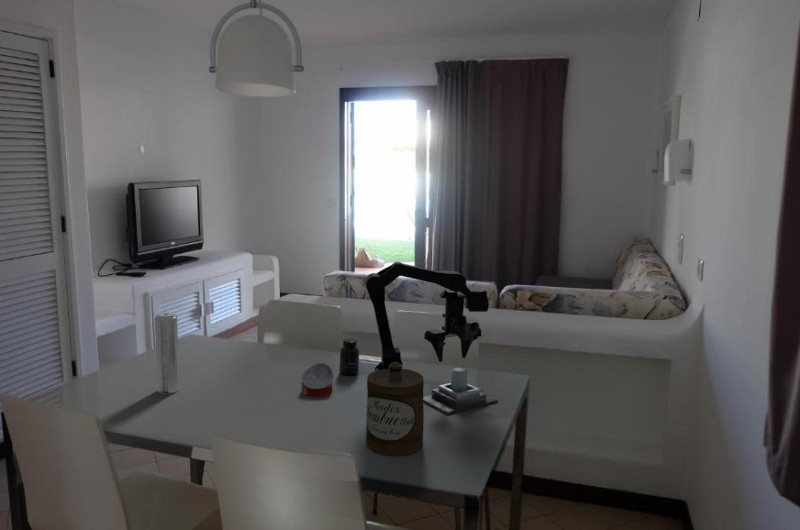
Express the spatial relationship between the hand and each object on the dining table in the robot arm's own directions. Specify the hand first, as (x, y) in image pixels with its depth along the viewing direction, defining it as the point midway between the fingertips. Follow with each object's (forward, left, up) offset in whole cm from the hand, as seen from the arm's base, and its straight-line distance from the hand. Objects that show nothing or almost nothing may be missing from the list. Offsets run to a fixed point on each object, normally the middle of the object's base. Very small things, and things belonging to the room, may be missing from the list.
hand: (452, 359), depth 194 cm
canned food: (-35, +25, -12) cm, 45 cm away
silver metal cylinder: (-75, +50, -12) cm, 91 cm away
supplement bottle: (-17, +36, -12) cm, 42 cm away
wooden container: (-35, -20, -12) cm, 42 cm away
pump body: (-1, -5, -9) cm, 10 cm away
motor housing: (-1, -5, -12) cm, 13 cm away
